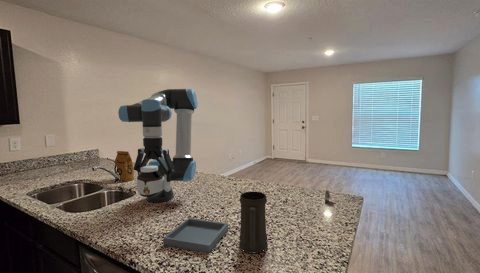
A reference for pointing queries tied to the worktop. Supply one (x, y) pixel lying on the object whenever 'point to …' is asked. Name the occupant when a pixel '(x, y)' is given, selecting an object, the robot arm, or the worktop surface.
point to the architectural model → (327, 196)
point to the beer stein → (253, 222)
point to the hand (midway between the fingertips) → (154, 188)
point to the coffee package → (124, 166)
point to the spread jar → (150, 182)
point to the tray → (196, 235)
